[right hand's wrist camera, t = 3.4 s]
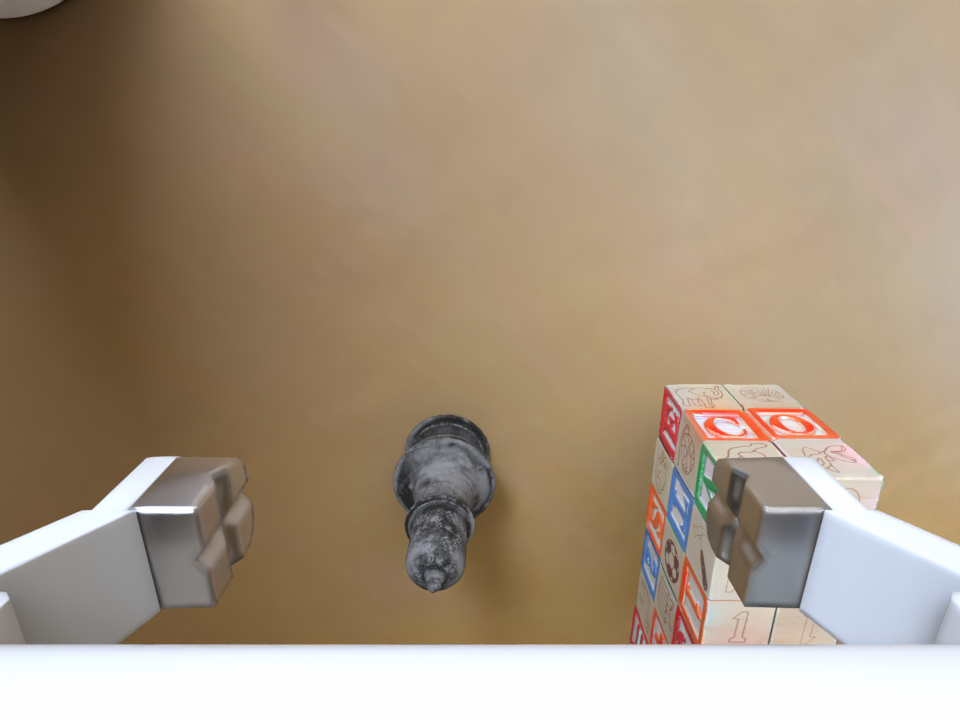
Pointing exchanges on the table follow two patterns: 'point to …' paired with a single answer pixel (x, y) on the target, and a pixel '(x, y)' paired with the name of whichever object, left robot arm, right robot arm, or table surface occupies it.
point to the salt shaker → (442, 496)
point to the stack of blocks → (683, 506)
